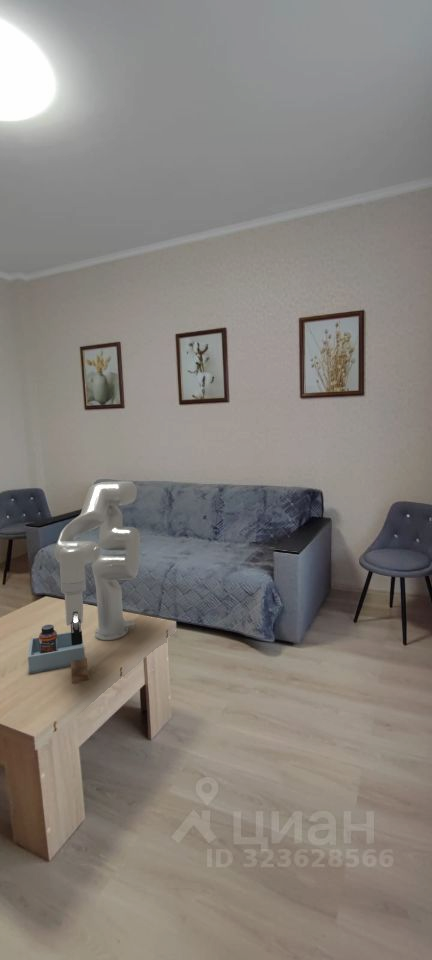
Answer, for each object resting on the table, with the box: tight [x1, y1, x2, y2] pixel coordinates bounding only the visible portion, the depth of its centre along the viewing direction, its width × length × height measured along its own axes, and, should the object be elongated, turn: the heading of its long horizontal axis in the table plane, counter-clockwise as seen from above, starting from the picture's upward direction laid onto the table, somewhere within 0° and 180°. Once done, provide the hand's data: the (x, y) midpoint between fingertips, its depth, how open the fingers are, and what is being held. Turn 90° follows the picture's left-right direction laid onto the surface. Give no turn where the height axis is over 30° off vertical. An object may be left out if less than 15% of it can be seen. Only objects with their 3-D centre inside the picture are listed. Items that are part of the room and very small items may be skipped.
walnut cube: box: [70, 657, 89, 684], centre depth 148 cm, size 5×5×5 cm
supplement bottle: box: [38, 624, 58, 654], centre depth 159 cm, size 6×6×11 cm
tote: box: [27, 629, 85, 674], centre depth 160 cm, size 18×15×6 cm
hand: (76, 638), depth 146 cm, fingers open, 9 cm apart
